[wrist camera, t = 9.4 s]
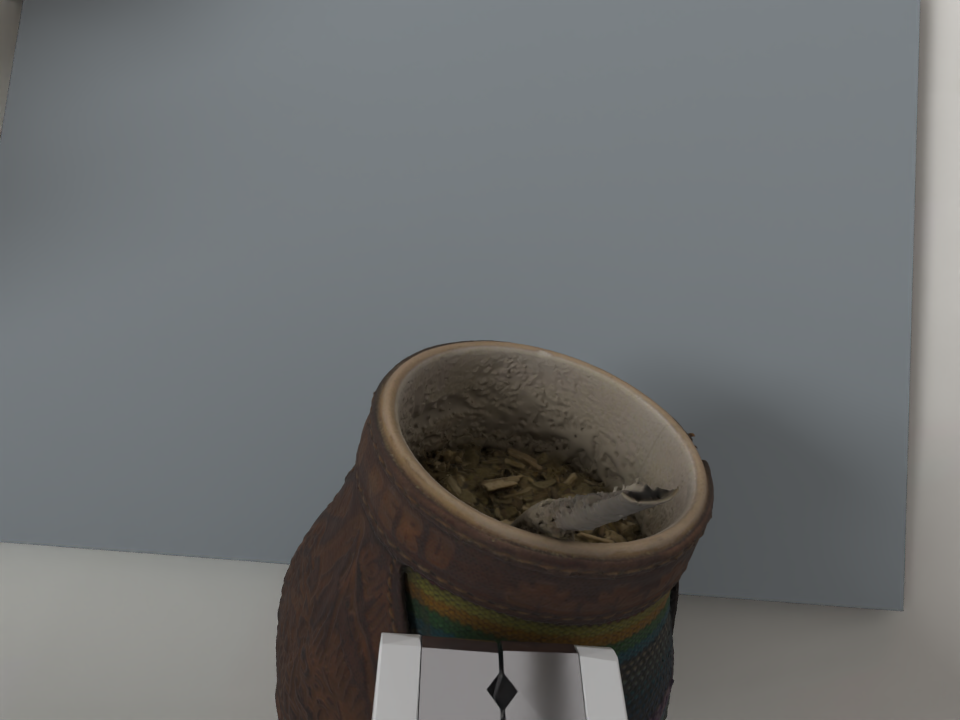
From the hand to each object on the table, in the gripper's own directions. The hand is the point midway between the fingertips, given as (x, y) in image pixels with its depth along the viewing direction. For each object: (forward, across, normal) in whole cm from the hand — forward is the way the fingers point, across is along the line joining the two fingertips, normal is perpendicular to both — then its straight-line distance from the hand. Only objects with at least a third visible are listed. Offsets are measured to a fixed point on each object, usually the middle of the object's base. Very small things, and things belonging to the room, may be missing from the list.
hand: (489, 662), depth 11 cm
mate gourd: (+2, 0, +7) cm, 7 cm away
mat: (+12, 0, 0) cm, 12 cm away
